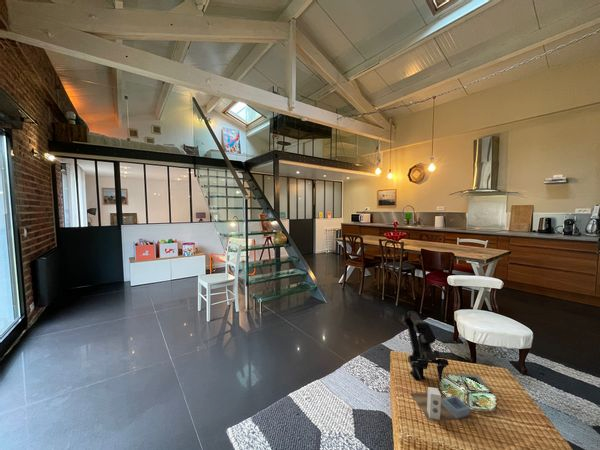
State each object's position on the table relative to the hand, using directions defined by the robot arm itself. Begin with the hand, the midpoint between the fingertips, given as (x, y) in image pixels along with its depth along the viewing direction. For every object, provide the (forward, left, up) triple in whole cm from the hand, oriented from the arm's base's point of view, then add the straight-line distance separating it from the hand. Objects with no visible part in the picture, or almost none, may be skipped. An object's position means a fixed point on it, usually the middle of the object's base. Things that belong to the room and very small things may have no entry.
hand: (430, 380), depth 121 cm
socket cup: (+5, +10, -12) cm, 17 cm away
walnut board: (+2, +4, -13) cm, 14 cm away
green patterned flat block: (-10, +34, -14) cm, 38 cm away
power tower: (+7, -3, -12) cm, 15 cm away
